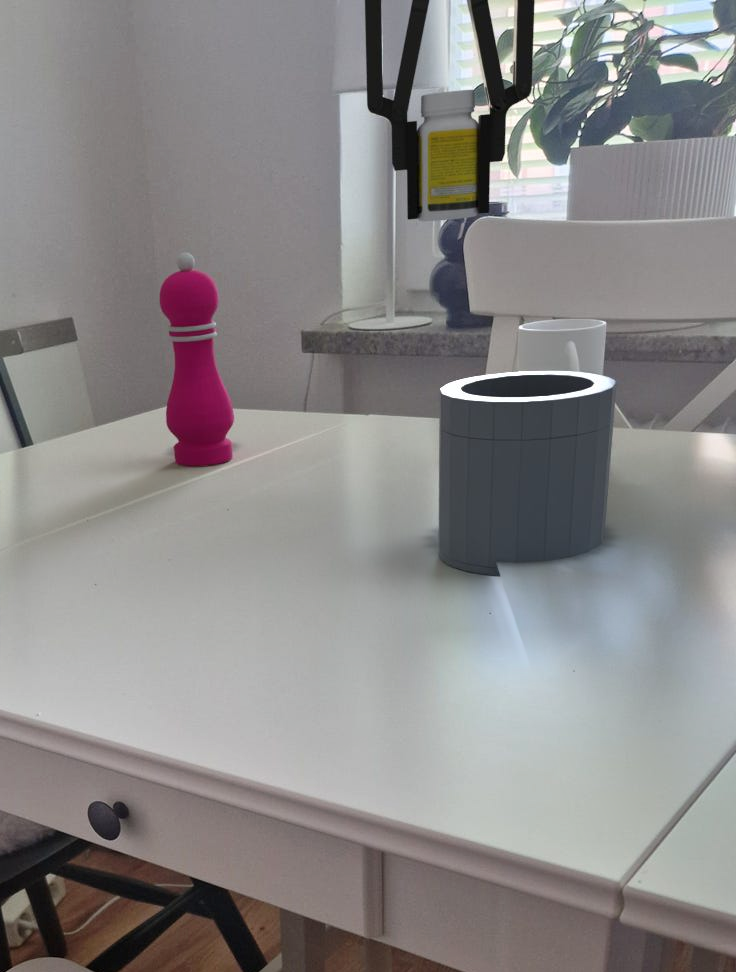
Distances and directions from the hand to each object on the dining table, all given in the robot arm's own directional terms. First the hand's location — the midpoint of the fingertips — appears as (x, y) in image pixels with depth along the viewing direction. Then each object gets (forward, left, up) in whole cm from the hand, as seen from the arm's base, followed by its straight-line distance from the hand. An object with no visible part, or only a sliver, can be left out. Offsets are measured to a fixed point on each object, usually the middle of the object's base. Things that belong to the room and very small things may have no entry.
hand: (447, 214), depth 92 cm
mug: (-12, -14, -23) cm, 29 cm away
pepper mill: (+24, -23, -23) cm, 41 cm away
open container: (-5, +16, -22) cm, 28 cm away
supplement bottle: (0, 0, -1) cm, 1 cm away
